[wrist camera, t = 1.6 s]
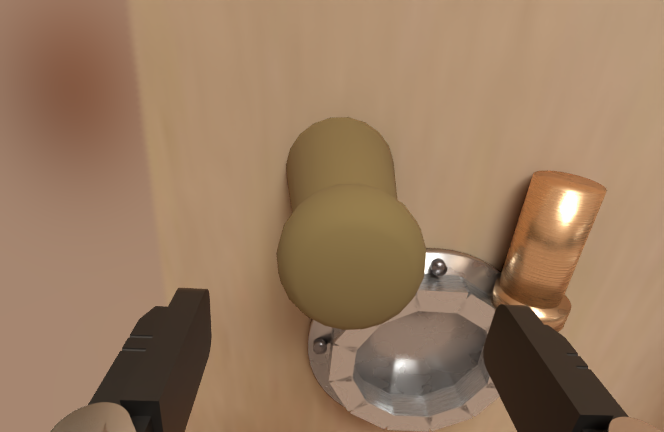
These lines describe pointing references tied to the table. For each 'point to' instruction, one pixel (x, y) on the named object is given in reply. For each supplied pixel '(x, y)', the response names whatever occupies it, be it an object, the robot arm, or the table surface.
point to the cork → (347, 229)
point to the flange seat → (416, 352)
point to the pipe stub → (548, 244)
